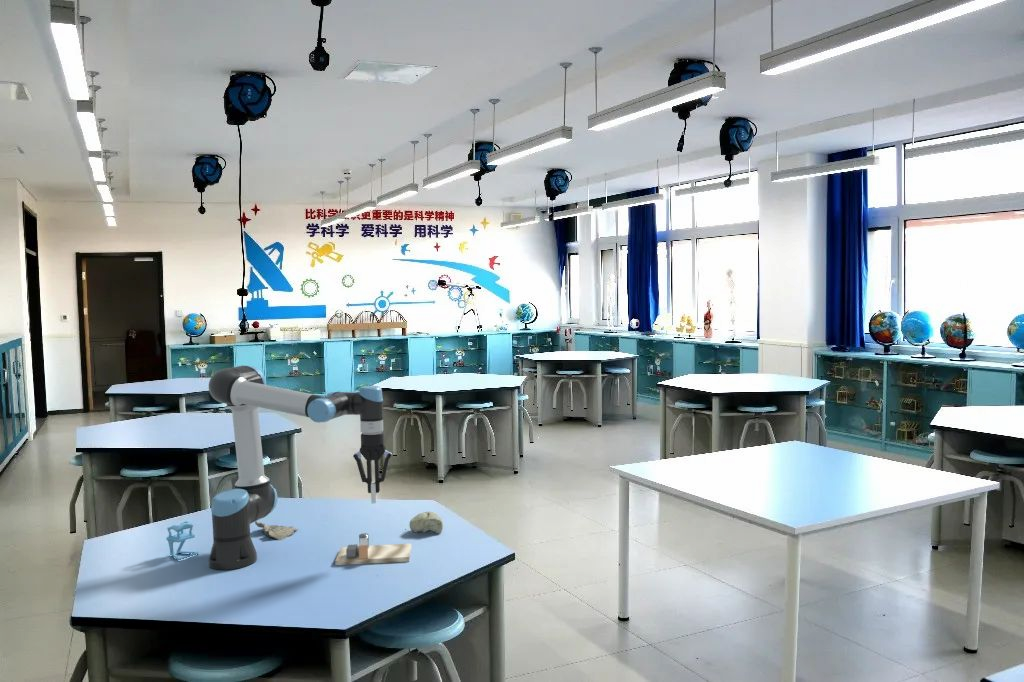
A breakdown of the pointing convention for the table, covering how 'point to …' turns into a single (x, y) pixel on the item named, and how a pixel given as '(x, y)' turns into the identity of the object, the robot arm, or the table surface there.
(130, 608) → the table surface
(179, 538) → the chair
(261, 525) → the dried leaf
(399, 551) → the plate
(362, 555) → the bar
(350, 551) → the block
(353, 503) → the table surface
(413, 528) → the seashell
